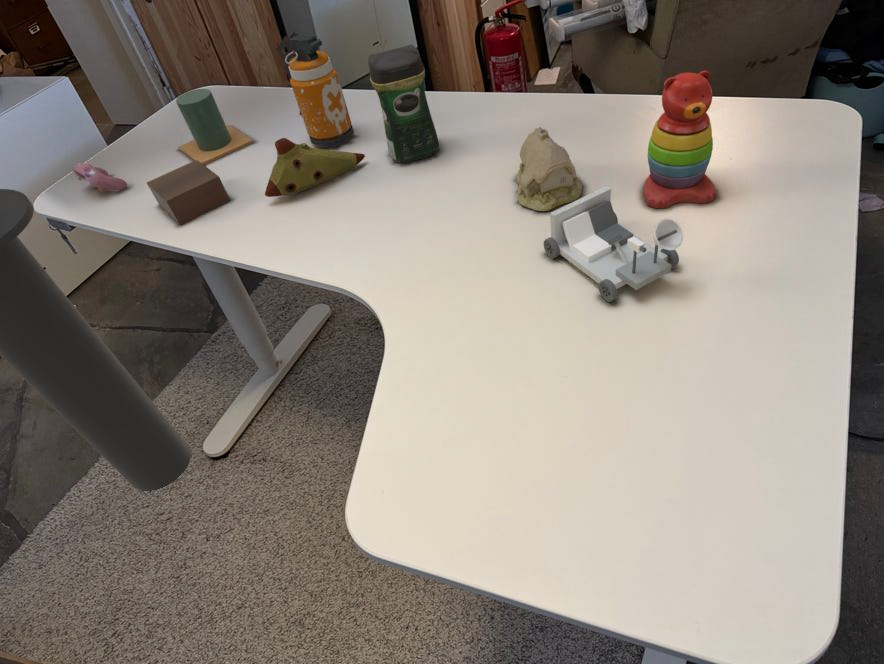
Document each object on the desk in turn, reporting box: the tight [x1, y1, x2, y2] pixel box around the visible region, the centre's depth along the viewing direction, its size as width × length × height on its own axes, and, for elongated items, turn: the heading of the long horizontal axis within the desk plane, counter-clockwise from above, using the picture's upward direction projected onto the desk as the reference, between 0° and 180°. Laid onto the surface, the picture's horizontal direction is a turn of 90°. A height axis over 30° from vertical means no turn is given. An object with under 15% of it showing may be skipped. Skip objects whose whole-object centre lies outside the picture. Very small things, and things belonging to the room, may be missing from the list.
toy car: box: [543, 185, 684, 303], centre depth 82 cm, size 18×10×12 cm
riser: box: [146, 160, 231, 226], centre depth 111 cm, size 10×10×5 cm
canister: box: [275, 31, 355, 148], centre depth 117 cm, size 9×11×20 cm
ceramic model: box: [516, 126, 583, 212], centre depth 98 cm, size 14×11×10 cm
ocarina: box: [264, 137, 366, 198], centre depth 108 cm, size 20×5×10 cm, turn 125°
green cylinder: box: [175, 88, 232, 151], centre depth 124 cm, size 7×7×10 cm
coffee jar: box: [367, 44, 440, 164], centre depth 109 cm, size 10×8×19 cm
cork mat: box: [177, 124, 254, 166], centre depth 128 cm, size 12×12×1 cm
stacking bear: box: [642, 70, 717, 209], centre depth 90 cm, size 11×10×18 cm
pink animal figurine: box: [71, 162, 128, 193], centre depth 119 cm, size 10×5×7 cm, turn 50°
